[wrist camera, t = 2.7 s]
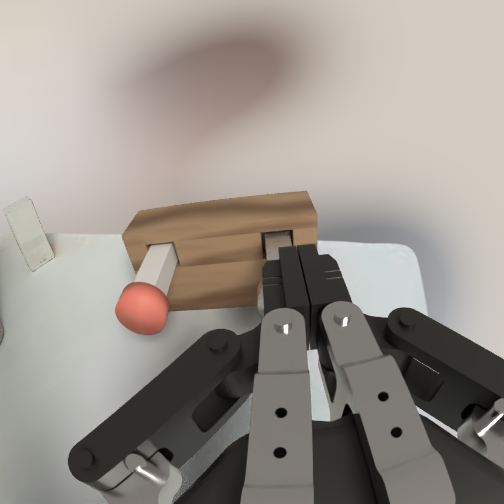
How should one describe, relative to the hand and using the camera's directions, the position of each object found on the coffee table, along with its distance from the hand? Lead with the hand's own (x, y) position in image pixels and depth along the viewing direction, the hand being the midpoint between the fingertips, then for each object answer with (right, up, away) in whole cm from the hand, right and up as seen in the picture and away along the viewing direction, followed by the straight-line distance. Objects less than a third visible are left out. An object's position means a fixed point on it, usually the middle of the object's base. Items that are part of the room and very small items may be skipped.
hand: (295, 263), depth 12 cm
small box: (-47, -1, +38) cm, 60 cm away
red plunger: (-11, -3, +17) cm, 20 cm away
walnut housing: (-4, -4, +25) cm, 25 cm away
